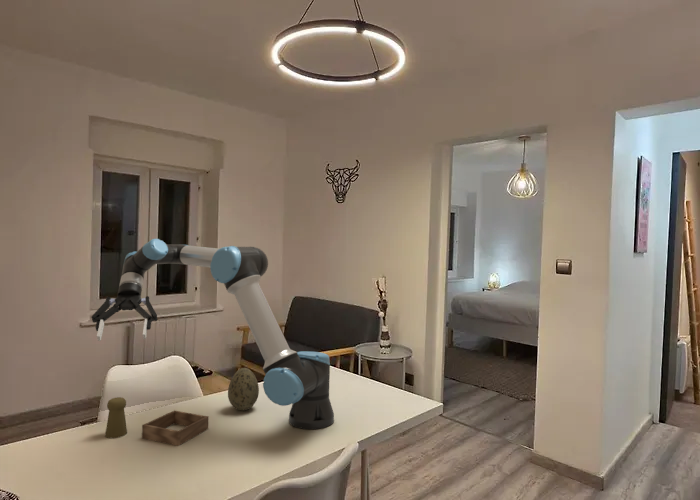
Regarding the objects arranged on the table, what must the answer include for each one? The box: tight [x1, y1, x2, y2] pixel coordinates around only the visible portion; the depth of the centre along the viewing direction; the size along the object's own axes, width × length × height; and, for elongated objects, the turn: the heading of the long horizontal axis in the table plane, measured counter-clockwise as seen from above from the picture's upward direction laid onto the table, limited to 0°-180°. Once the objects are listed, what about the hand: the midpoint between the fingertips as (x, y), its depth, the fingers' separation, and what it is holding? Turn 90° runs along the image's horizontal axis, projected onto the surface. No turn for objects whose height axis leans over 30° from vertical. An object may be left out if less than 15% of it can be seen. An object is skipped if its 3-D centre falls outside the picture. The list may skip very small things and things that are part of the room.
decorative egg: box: [227, 367, 260, 411], centre depth 164 cm, size 11×11×15 cm
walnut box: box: [141, 409, 209, 447], centre depth 142 cm, size 14×14×4 cm
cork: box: [104, 396, 128, 439], centre depth 140 cm, size 6×6×11 cm
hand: (121, 337), depth 150 cm, fingers open, 13 cm apart
